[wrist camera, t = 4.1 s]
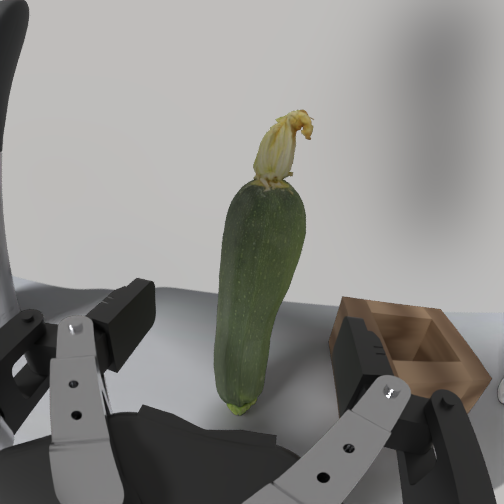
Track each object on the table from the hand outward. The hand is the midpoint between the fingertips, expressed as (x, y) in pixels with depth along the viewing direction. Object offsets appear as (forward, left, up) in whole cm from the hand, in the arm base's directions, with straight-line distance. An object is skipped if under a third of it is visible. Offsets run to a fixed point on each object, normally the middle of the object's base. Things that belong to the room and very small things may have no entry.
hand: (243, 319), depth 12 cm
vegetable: (0, +5, -11) cm, 12 cm away
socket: (+14, +9, -11) cm, 20 cm away
